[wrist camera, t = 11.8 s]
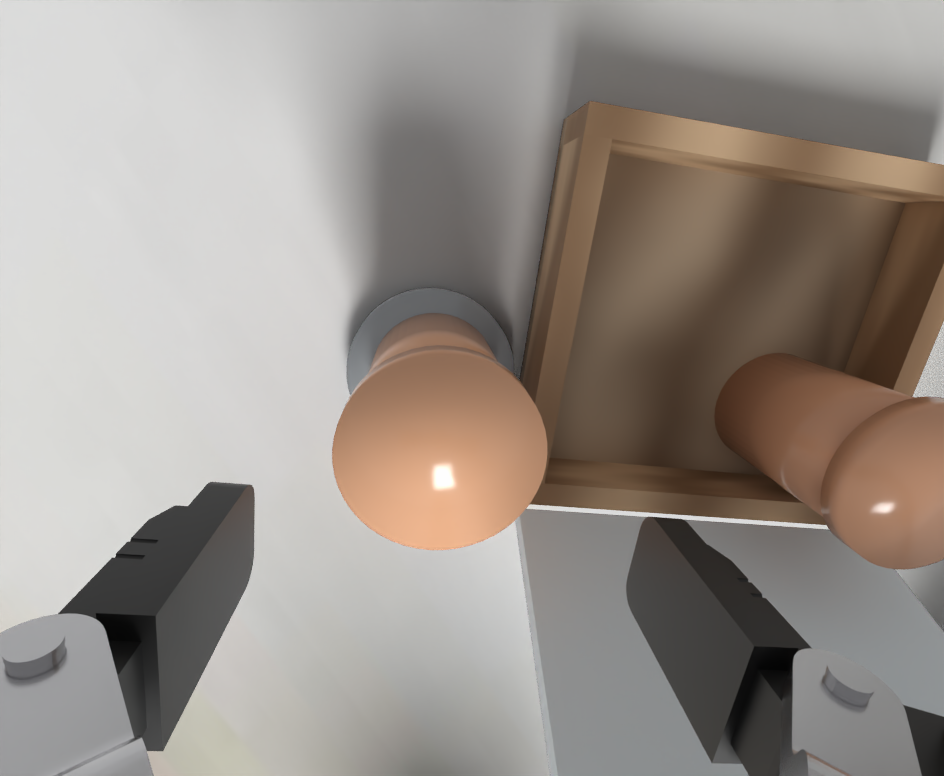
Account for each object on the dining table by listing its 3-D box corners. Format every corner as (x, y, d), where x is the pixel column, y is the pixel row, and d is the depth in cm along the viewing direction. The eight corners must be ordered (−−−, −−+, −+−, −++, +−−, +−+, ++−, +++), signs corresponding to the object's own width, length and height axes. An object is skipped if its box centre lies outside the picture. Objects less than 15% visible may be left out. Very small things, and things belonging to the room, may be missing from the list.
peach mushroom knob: (512, 314, 21) (565, 366, 13) (492, 443, 23) (528, 555, 15) (369, 297, 20) (338, 342, 12) (359, 432, 22) (326, 543, 14)
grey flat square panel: (1321, 1113, 11) (1270, 1110, 12) (865, 532, 23) (852, 545, 23) (620, 1197, 9) (601, 1187, 9) (518, 508, 21) (513, 523, 21)
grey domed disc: (521, 298, 22) (526, 301, 21) (497, 447, 24) (500, 457, 23) (355, 277, 21) (352, 280, 20) (344, 434, 23) (341, 443, 22)
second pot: (844, 353, 23) (1049, 416, 16) (803, 467, 25) (970, 573, 17) (728, 339, 23) (884, 398, 15) (694, 457, 24) (818, 564, 17)
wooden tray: (922, 182, 22) (1003, 175, 19) (807, 491, 26) (858, 527, 23) (563, 119, 20) (590, 101, 17) (504, 468, 24) (517, 503, 21)
